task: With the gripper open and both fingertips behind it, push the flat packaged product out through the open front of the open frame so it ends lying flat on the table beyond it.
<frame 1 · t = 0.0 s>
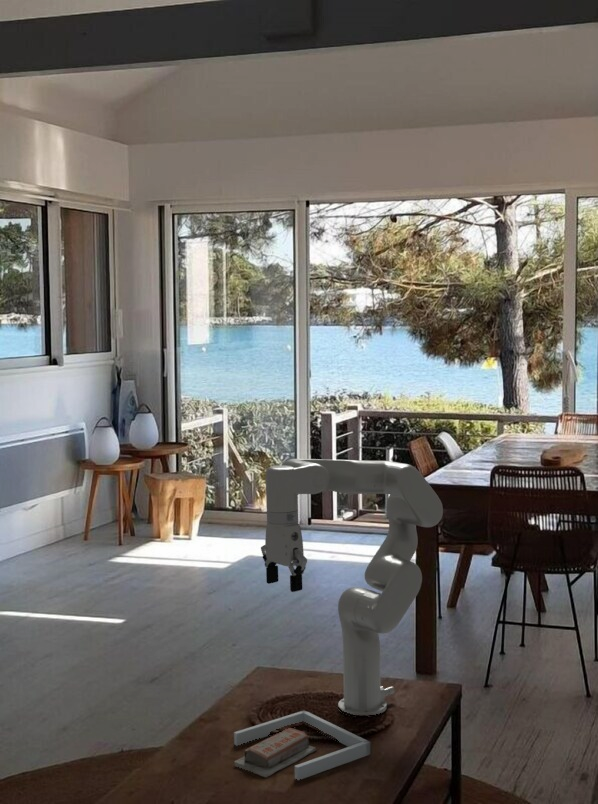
hand: (284, 586, 272), 37 cm above the table, tool pointing down, fingers open, 9 cm apart
open frame: (299, 749, 266), on the table
packaged product: (275, 761, 262), on the table
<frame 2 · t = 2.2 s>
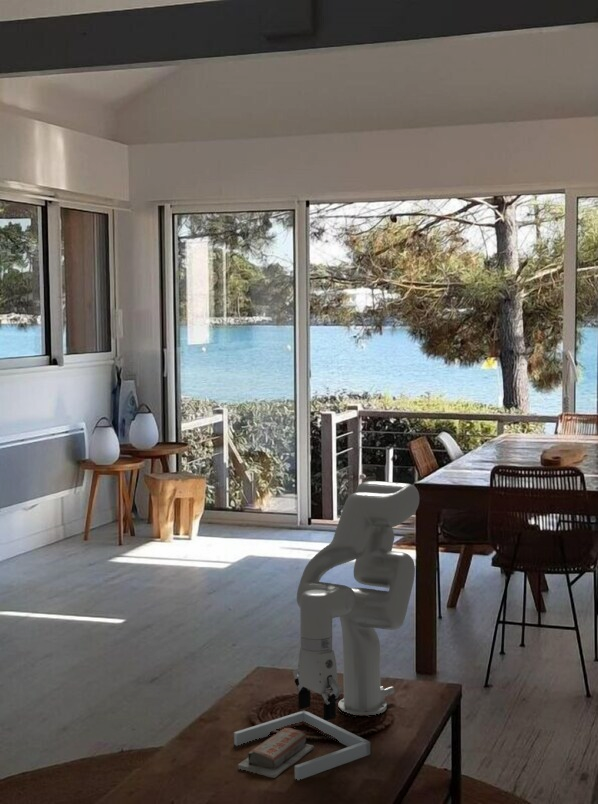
hand: (316, 713, 268), 8 cm above the table, tool pointing down, fingers open, 9 cm apart
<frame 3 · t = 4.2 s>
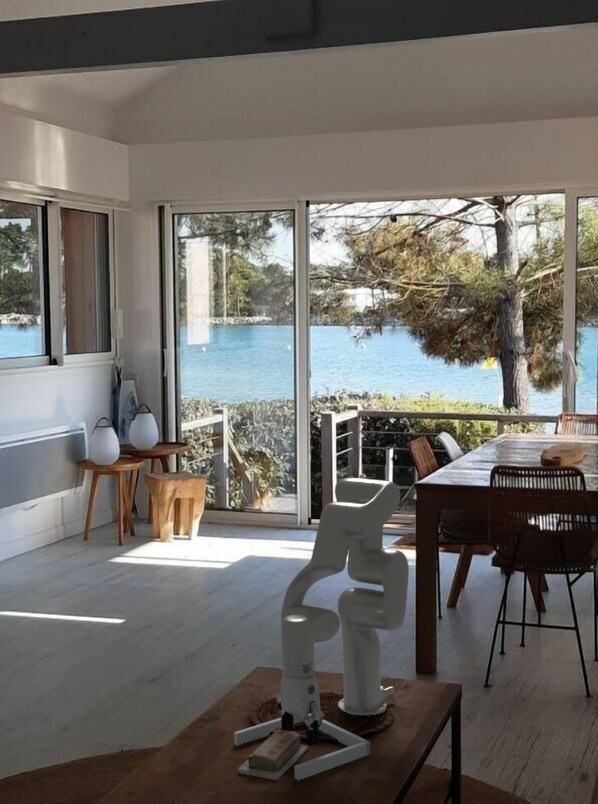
hand: (300, 738, 266), 3 cm above the table, tool pointing down, fingers open, 9 cm apart
packaged product: (274, 763, 260), on the table
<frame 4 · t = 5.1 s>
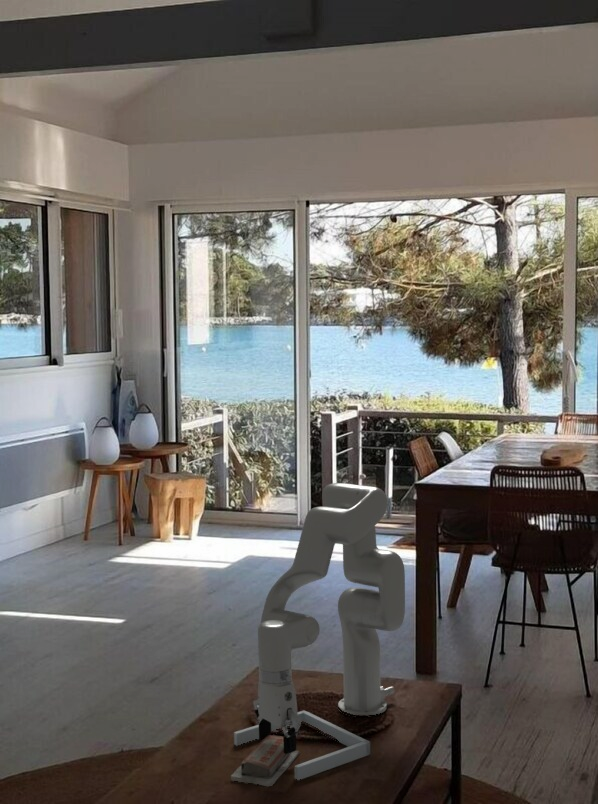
hand: (277, 745, 262), 3 cm above the table, tool pointing down
packaged product: (265, 769, 257), on the table, touching gripper
when the fingers open (3 cm above the table, at t = 5.4 s): packaged product moves 4 cm, on the table.
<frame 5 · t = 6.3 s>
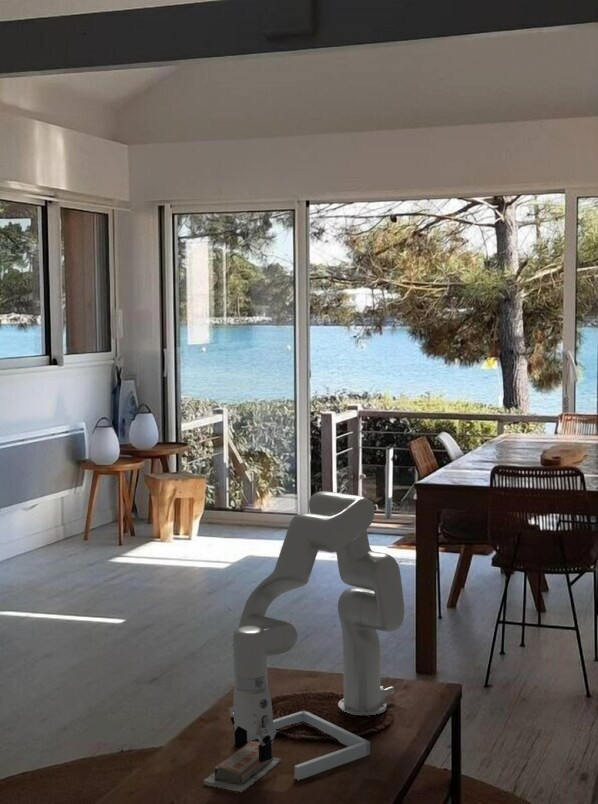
hand: (253, 753, 258), 3 cm above the table, tool pointing down, fingers open, 9 cm apart
packaged product: (243, 776, 255), on the table, touching gripper
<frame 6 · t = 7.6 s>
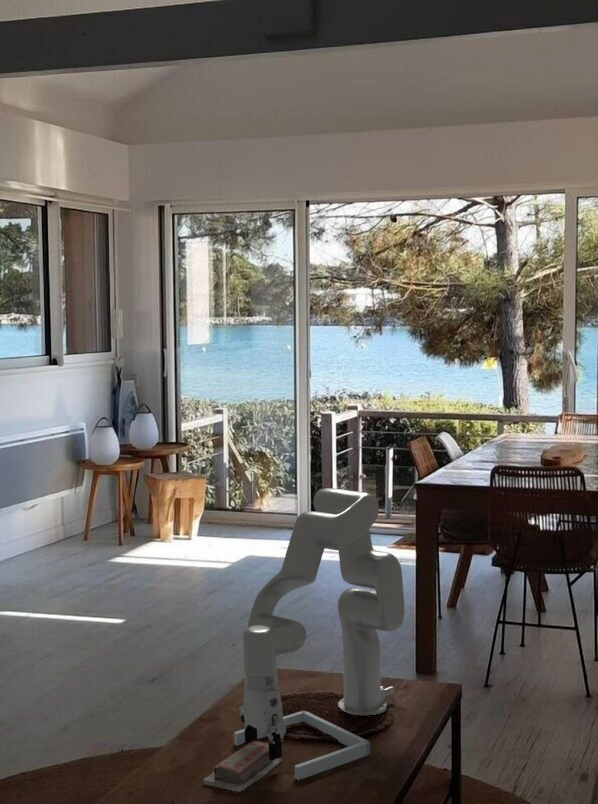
hand: (263, 751, 260), 3 cm above the table, tool pointing down, fingers open, 9 cm apart
packaged product: (243, 775, 255), on the table
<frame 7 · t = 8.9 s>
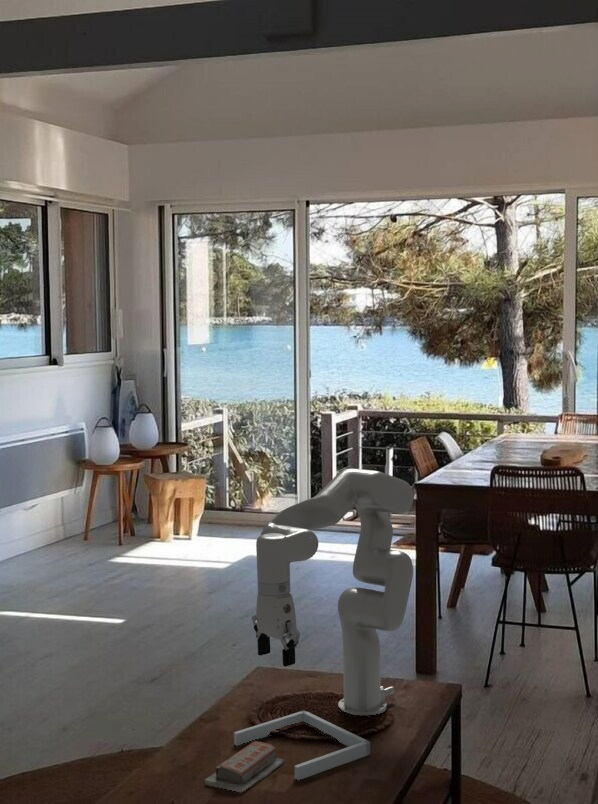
hand: (276, 659, 260), 23 cm above the table, tool pointing down, fingers open, 9 cm apart
nothing on the table moved.
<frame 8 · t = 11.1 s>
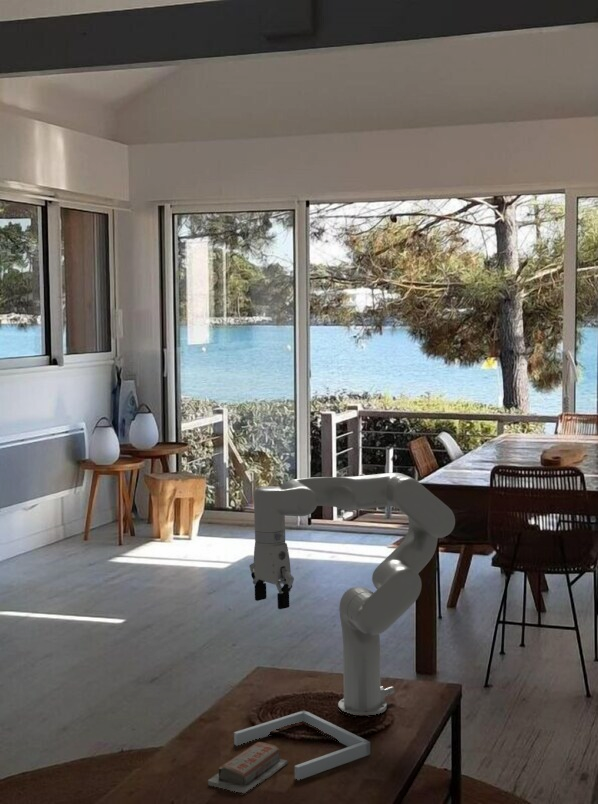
hand: (272, 603, 280), 30 cm above the table, tool pointing down, fingers open, 9 cm apart
at the end: packaged product inside the target area (6.2 cm from its centre), on the table; packaged product touching table; packaged product tilted 0° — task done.
